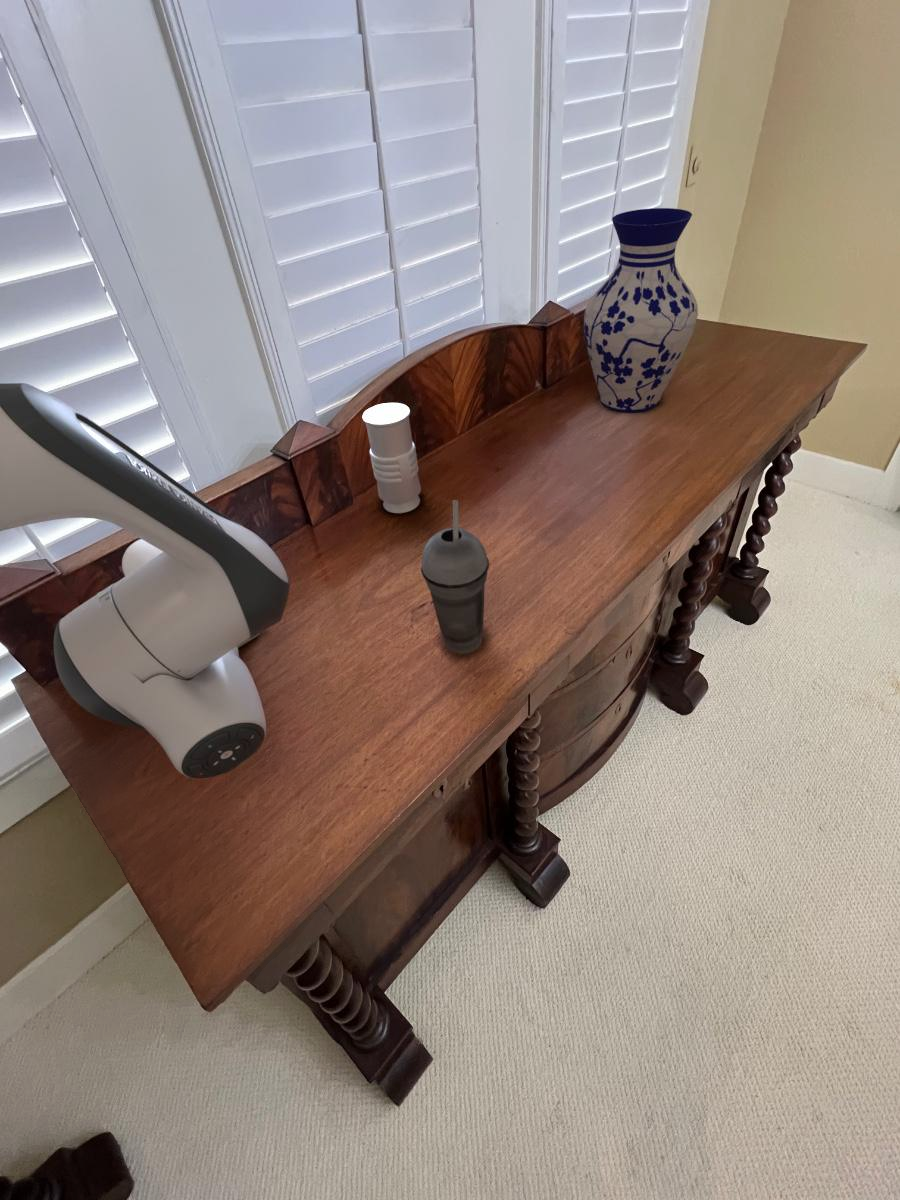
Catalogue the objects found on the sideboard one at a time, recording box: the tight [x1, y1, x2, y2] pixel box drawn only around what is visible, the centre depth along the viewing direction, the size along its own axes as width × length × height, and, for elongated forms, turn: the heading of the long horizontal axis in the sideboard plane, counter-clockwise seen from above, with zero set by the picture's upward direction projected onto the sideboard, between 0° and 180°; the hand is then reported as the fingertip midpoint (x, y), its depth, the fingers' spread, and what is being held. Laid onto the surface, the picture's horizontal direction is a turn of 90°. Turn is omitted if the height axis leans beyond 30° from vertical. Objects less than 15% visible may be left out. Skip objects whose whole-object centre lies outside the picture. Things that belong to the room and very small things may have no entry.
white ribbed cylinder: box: [362, 402, 422, 514], centre depth 88 cm, size 7×7×15 cm
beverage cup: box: [420, 500, 490, 655], centre depth 63 cm, size 7×7×20 cm
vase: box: [583, 207, 699, 414], centre depth 102 cm, size 19×19×30 cm
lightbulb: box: [121, 538, 163, 577], centre depth 68 cm, size 6×6×11 cm
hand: (159, 573), depth 68 cm, fingers closed on lightbulb, 6 cm apart
